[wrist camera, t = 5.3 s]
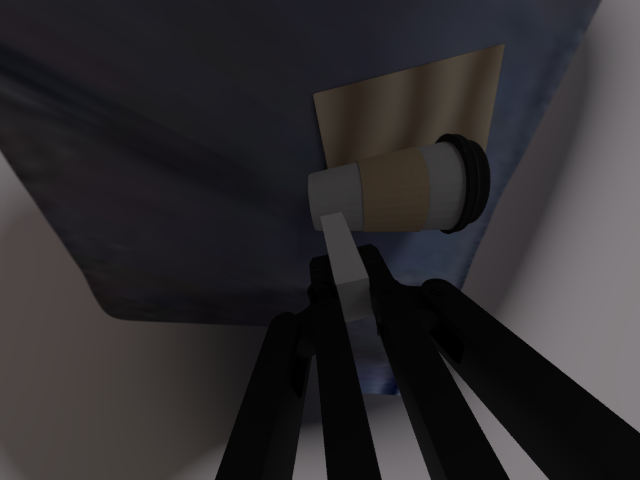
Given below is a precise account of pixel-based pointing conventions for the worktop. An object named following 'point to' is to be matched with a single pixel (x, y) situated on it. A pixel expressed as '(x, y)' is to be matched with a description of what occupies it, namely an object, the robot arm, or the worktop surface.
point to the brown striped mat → (410, 107)
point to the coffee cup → (406, 189)
